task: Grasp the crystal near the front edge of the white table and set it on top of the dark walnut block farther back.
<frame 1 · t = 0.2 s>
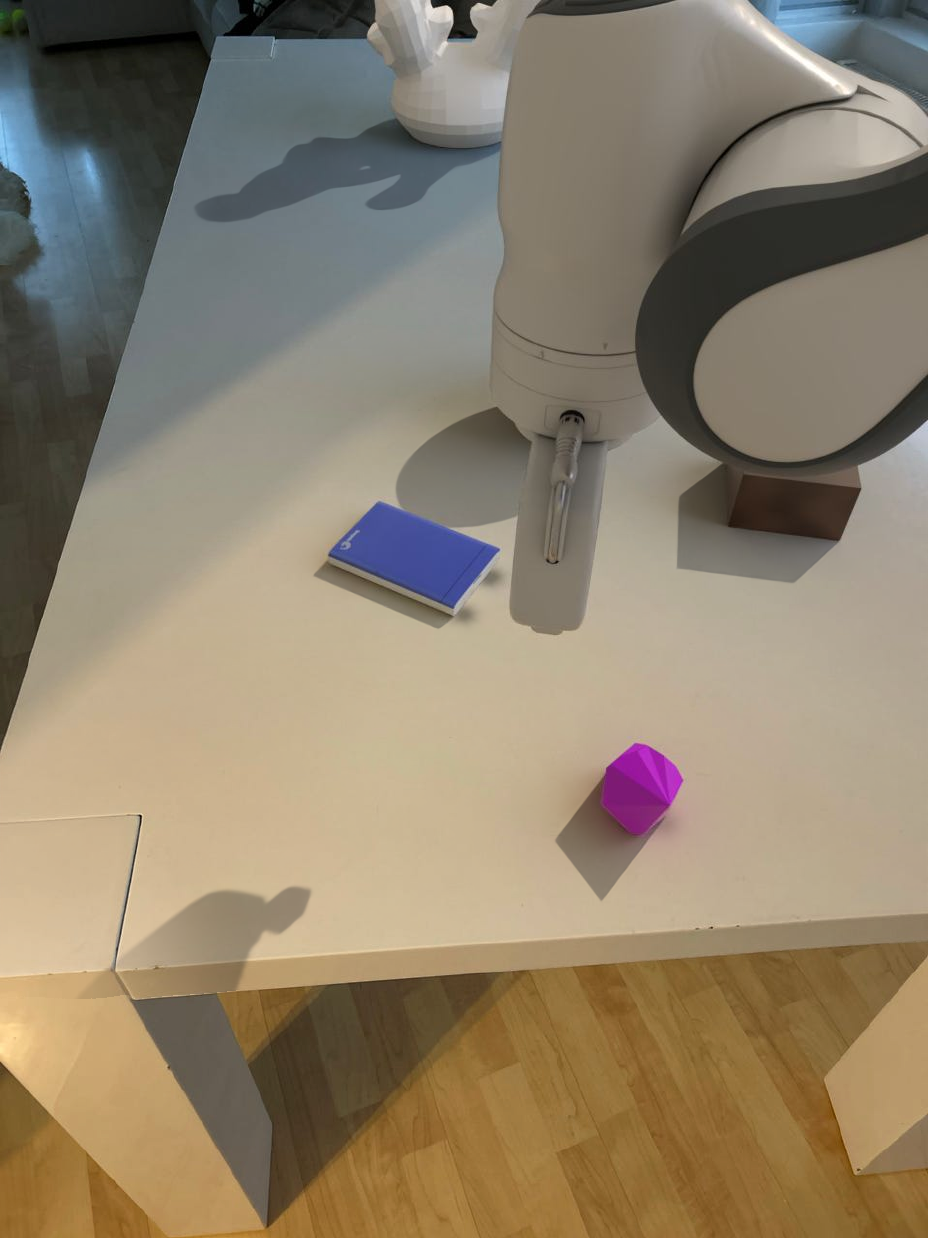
hand: (556, 567, 56), 18 cm above the table, tool pointing down, fingers open, 8 cm apart
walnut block: (780, 498, 89), on the table
lucky cat figurine: (662, 174, 141), on the table
hard drive: (414, 563, 82), on the table
vase: (462, 132, 151), on the table
crystal: (633, 805, 66), on the table
decorative ball: (567, 420, 97), on the table
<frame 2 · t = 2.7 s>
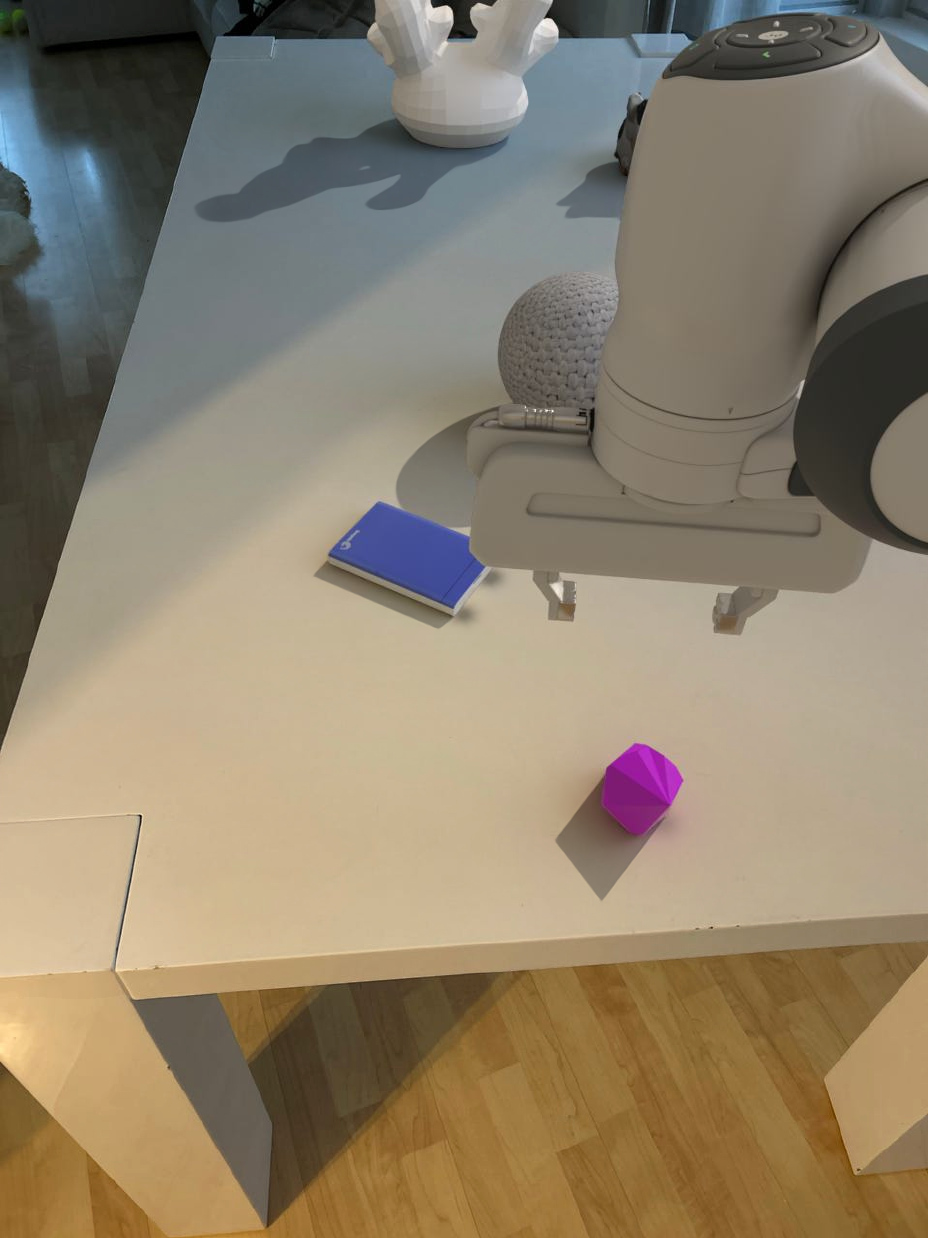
hand: (642, 619, 54), 17 cm above the table, tool pointing down, fingers open, 8 cm apart
nothing on the table moved.
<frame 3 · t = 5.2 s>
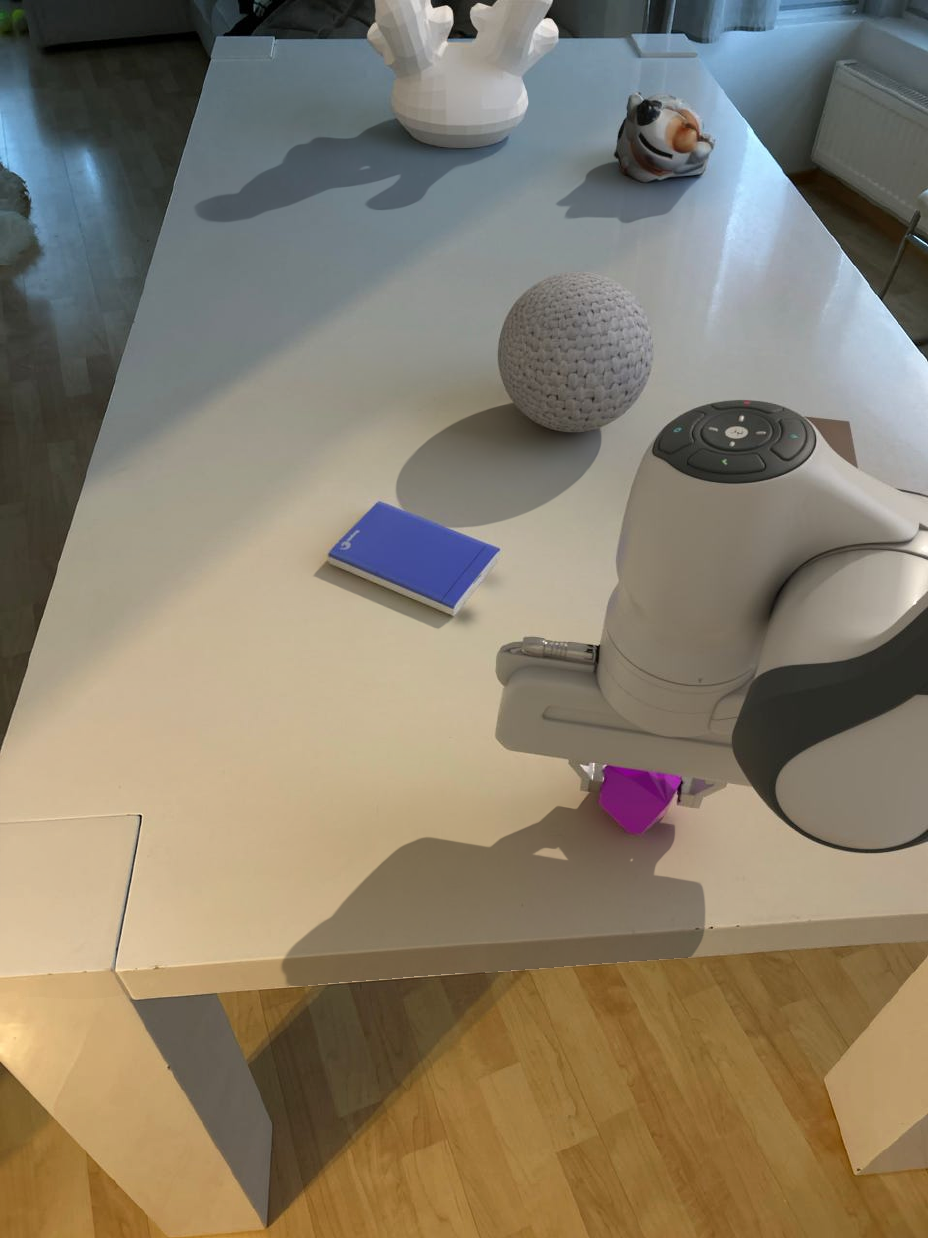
hand: (639, 791, 65), 2 cm above the table, tool pointing down, fingers closed on crystal, 5 cm apart
crystal: (632, 804, 66), on the table, touching gripper
everything else where it was.
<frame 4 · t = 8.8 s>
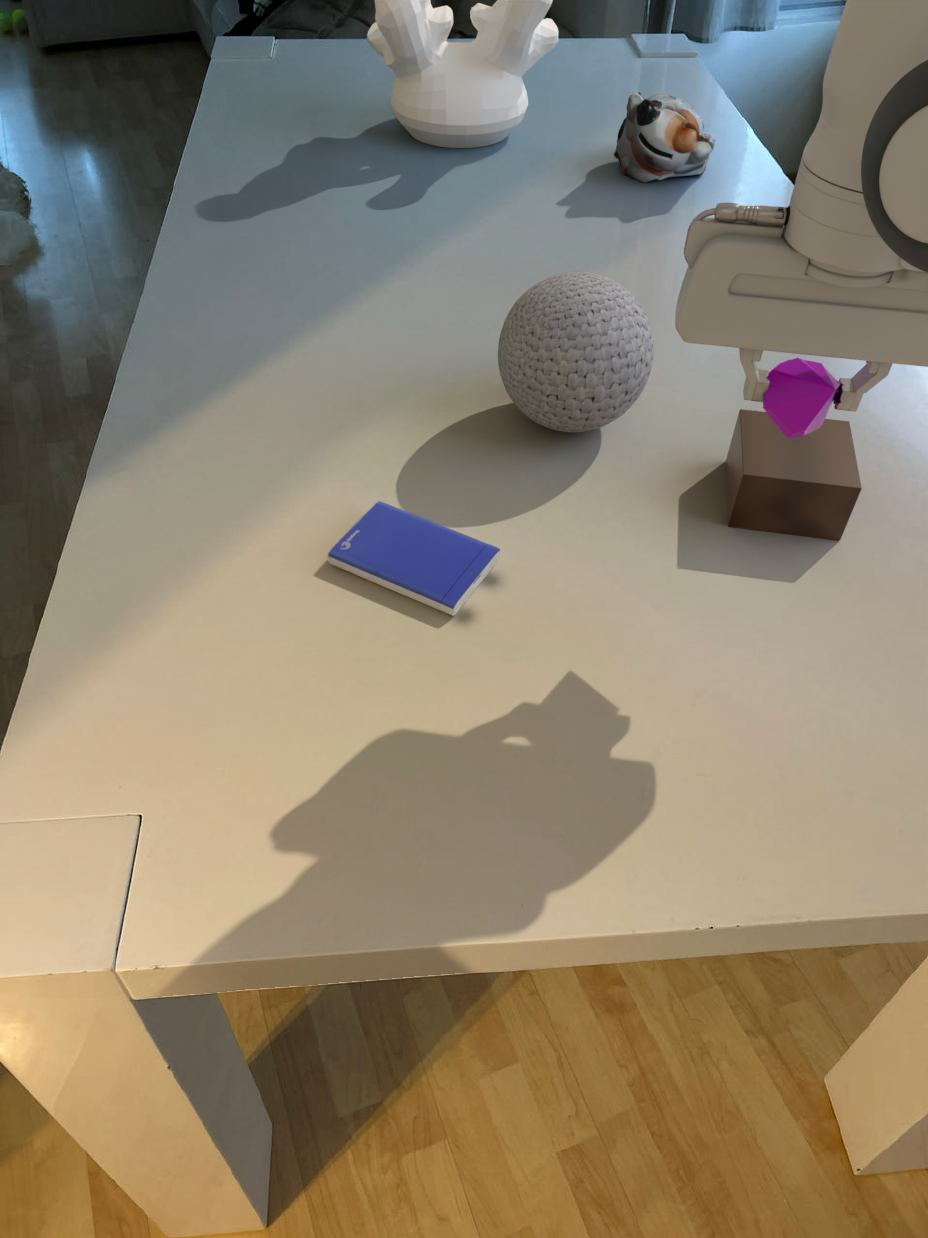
hand: (798, 401, 70), 17 cm above the table, tool pointing down, fingers closed on crystal, 5 cm apart
crystal: (788, 421, 71), point 15 cm above the table, touching gripper
everything else where it was.
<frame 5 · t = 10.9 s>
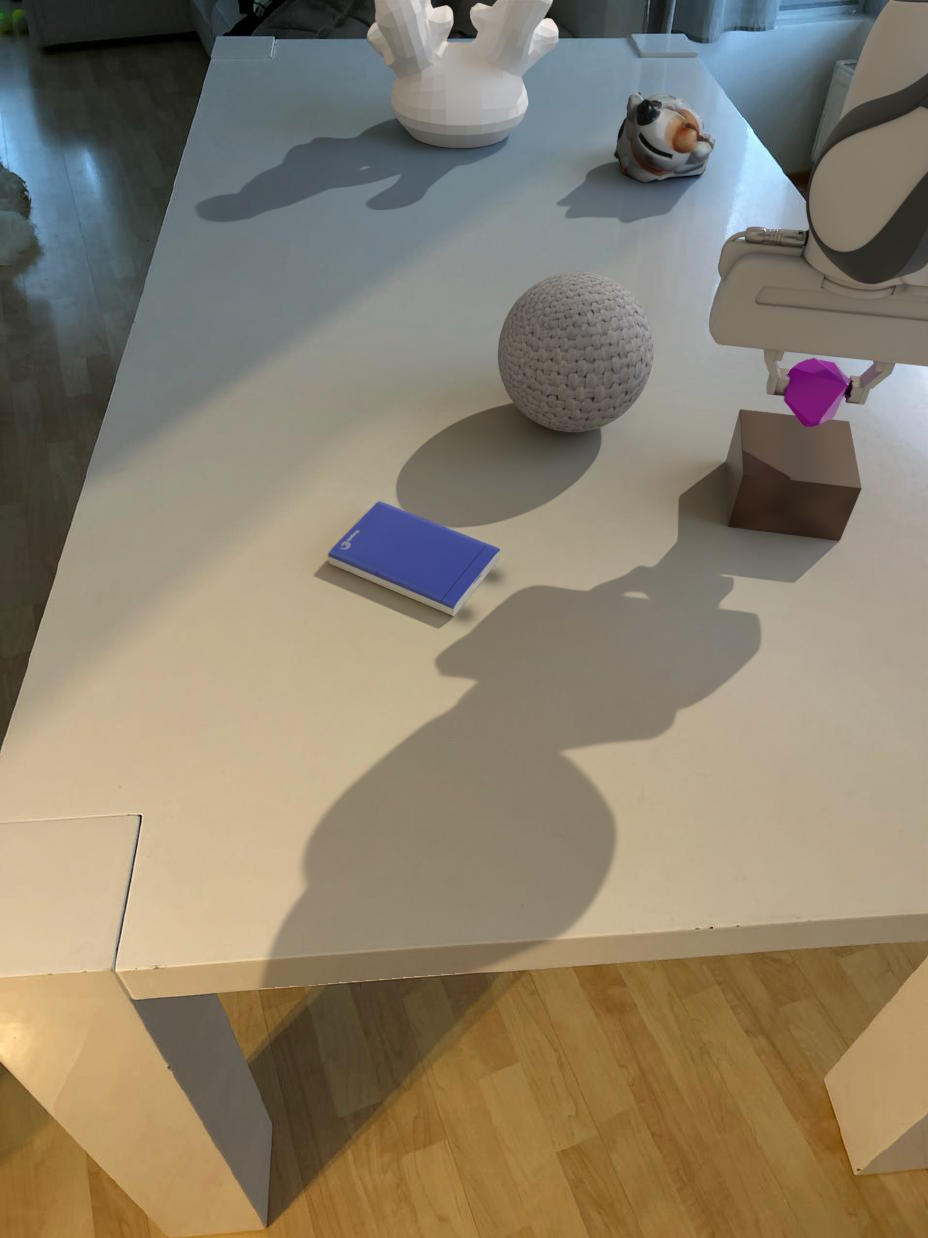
hand: (814, 396, 81), 11 cm above the table, tool pointing down, fingers closed on crystal, 5 cm apart
crystal: (805, 412, 82), point 10 cm above the table, touching gripper
everything else where it was.
when the fingers open (7 cm above the table, at t = 12.4 s): crystal stays where it is, resting on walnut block.
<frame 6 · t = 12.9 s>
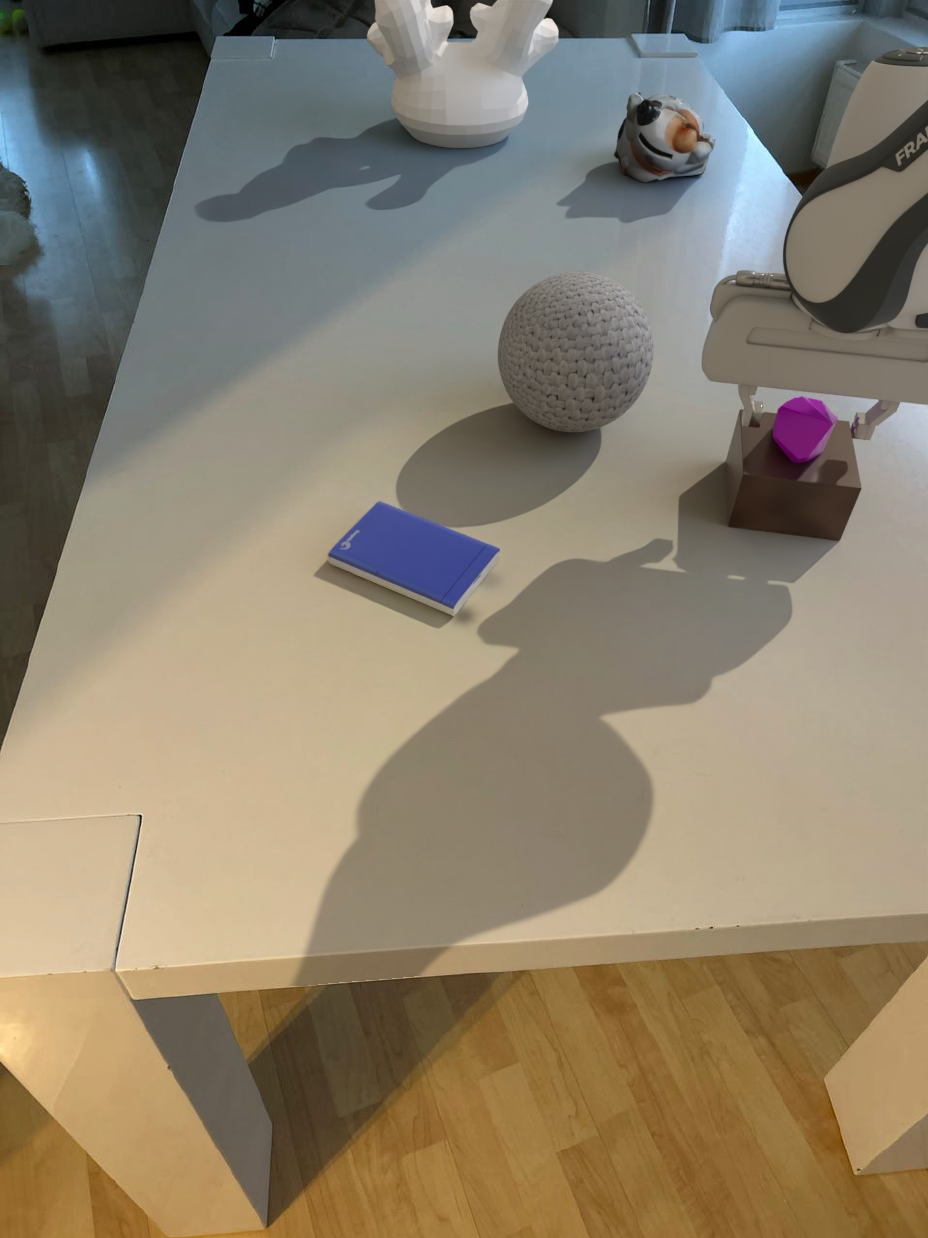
hand: (804, 429, 83), 8 cm above the table, tool pointing down, fingers open, 8 cm apart
crystal: (794, 448, 85), point 6 cm above the table, touching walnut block
everything else where it was.
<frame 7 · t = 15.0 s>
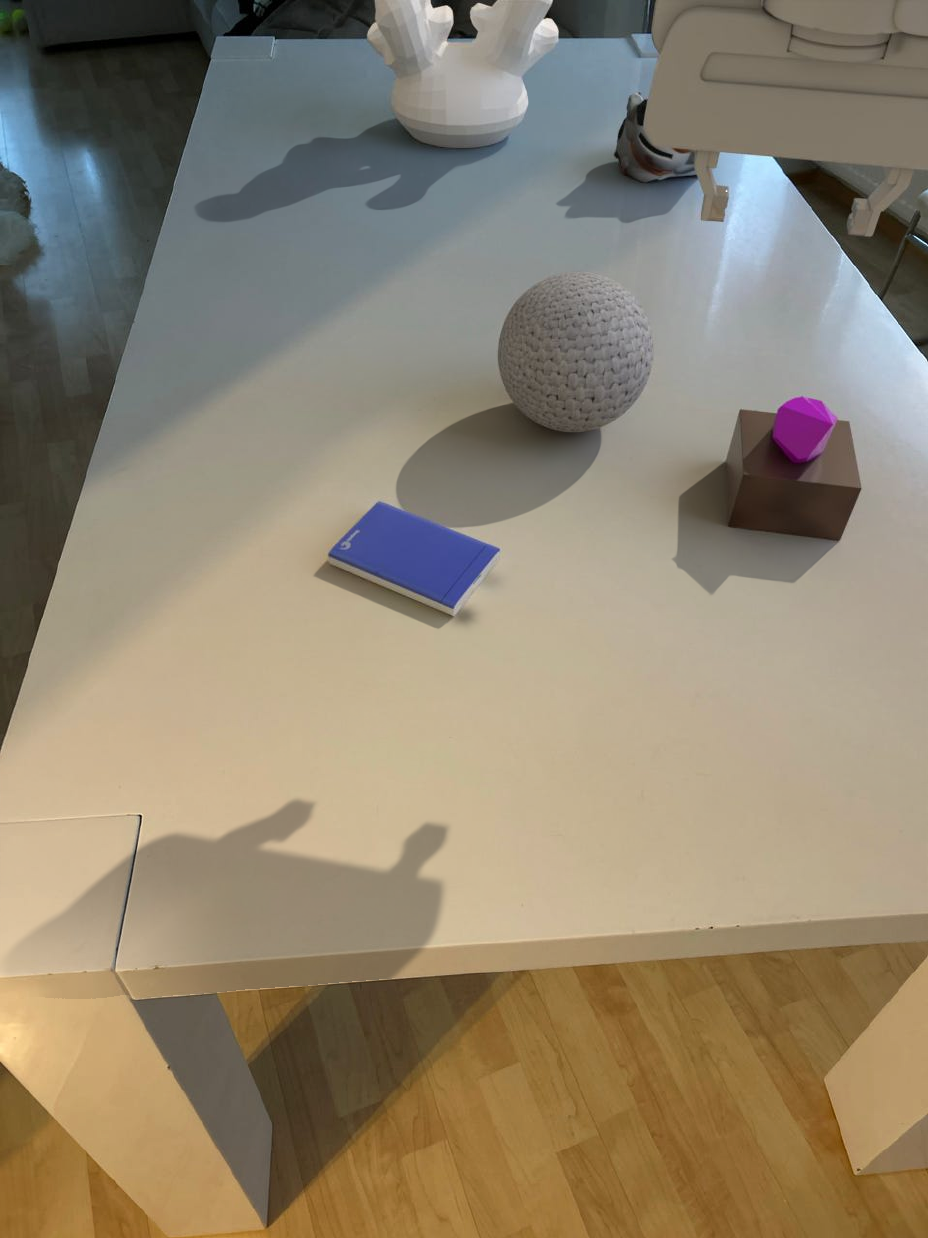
hand: (784, 224, 62), 29 cm above the table, tool pointing down, fingers open, 8 cm apart
nothing on the table moved.
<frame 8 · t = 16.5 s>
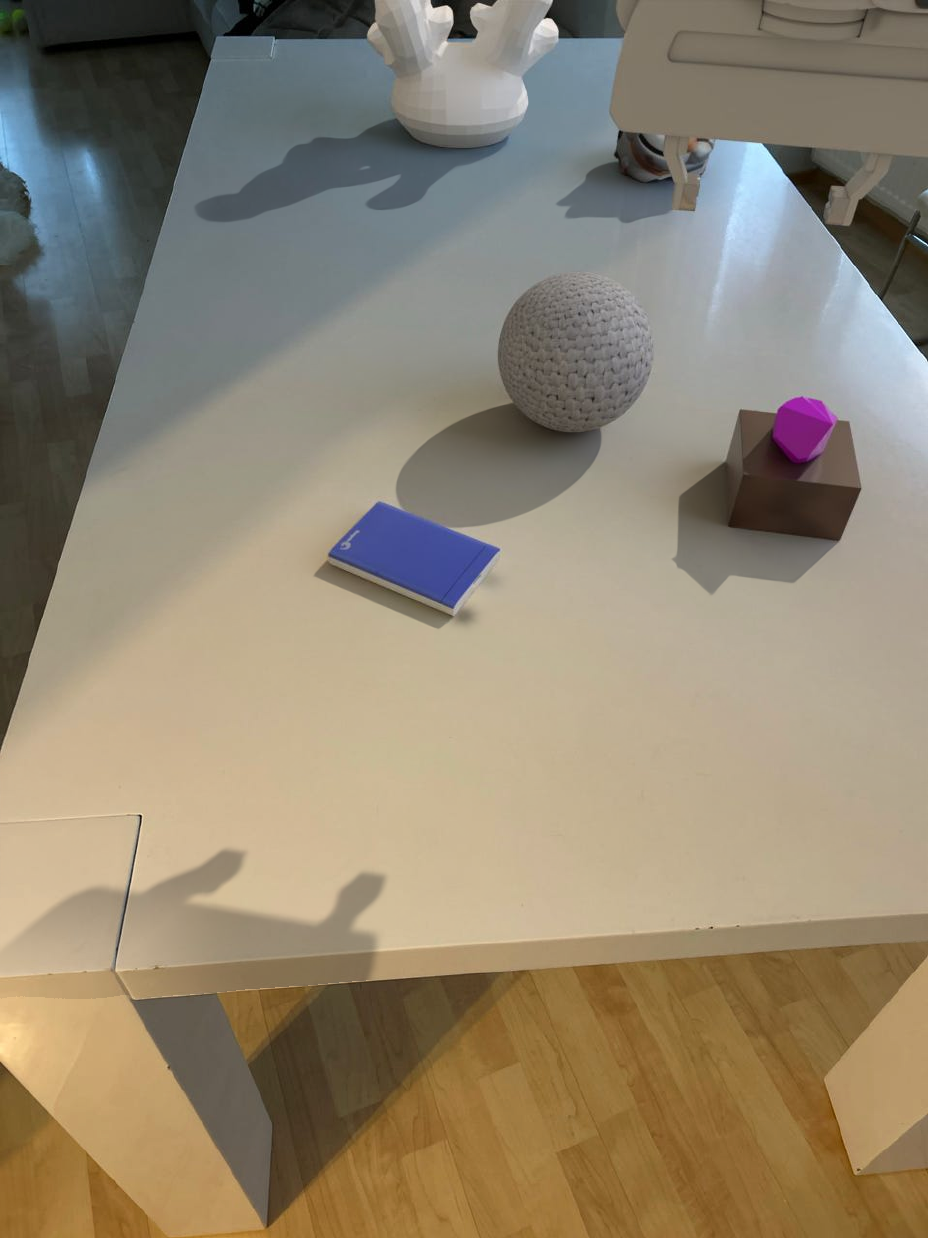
hand: (758, 214, 59), 31 cm above the table, tool pointing down, fingers open, 8 cm apart
nothing on the table moved.
at the end: crystal inside the target area on the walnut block (0.3 cm from its centre), point 5.8 cm above the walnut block's base; the gripper is holding nothing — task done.
